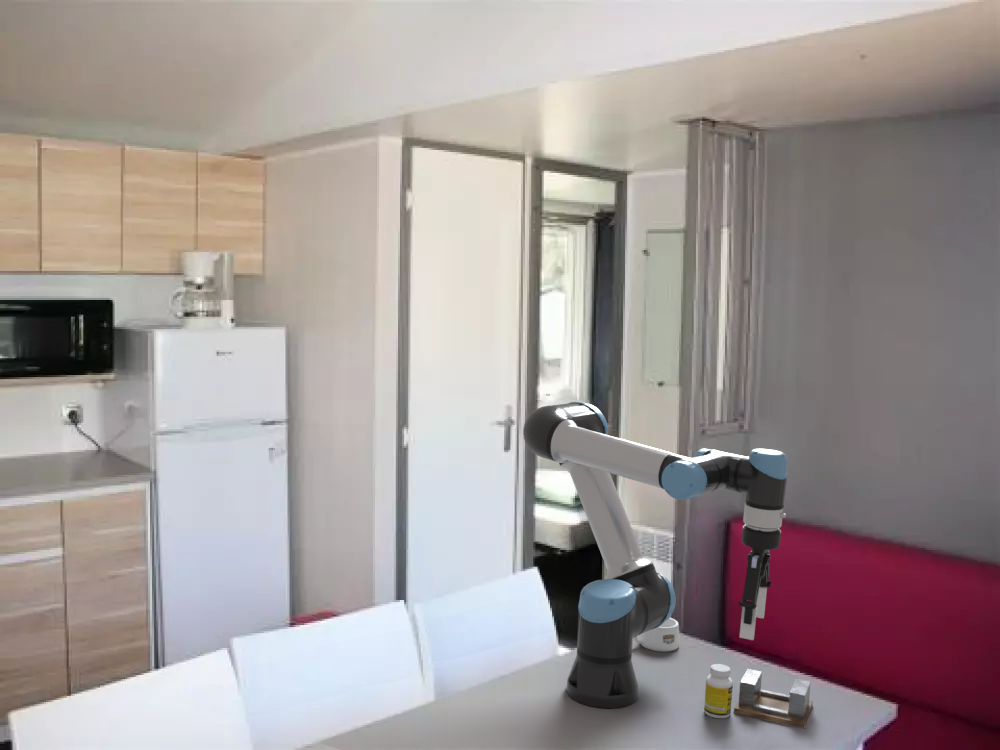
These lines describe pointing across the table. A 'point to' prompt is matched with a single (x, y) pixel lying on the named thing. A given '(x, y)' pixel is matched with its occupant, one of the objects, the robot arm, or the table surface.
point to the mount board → (772, 717)
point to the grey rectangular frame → (774, 695)
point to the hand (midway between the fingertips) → (752, 627)
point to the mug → (661, 637)
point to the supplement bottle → (718, 692)
